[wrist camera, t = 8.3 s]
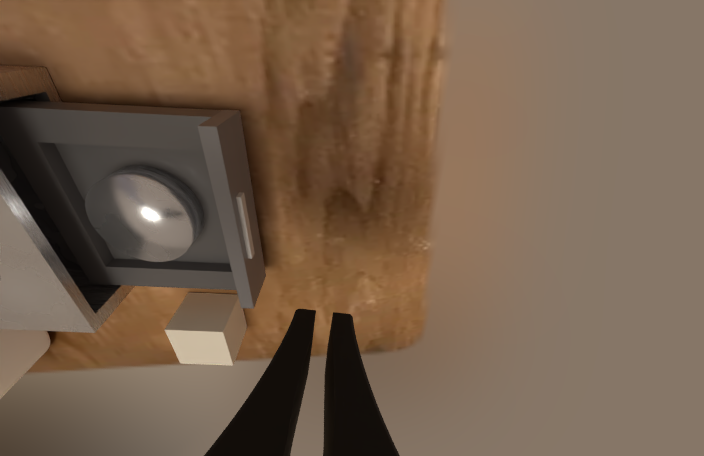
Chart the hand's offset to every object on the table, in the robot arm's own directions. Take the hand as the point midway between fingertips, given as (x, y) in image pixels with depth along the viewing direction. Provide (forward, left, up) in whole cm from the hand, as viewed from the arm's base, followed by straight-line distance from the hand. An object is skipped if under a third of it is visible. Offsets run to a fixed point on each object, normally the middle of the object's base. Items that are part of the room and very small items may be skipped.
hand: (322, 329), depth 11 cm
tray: (0, -10, -9) cm, 13 cm away
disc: (0, -10, -8) cm, 13 cm away
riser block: (+10, -10, -9) cm, 17 cm away
